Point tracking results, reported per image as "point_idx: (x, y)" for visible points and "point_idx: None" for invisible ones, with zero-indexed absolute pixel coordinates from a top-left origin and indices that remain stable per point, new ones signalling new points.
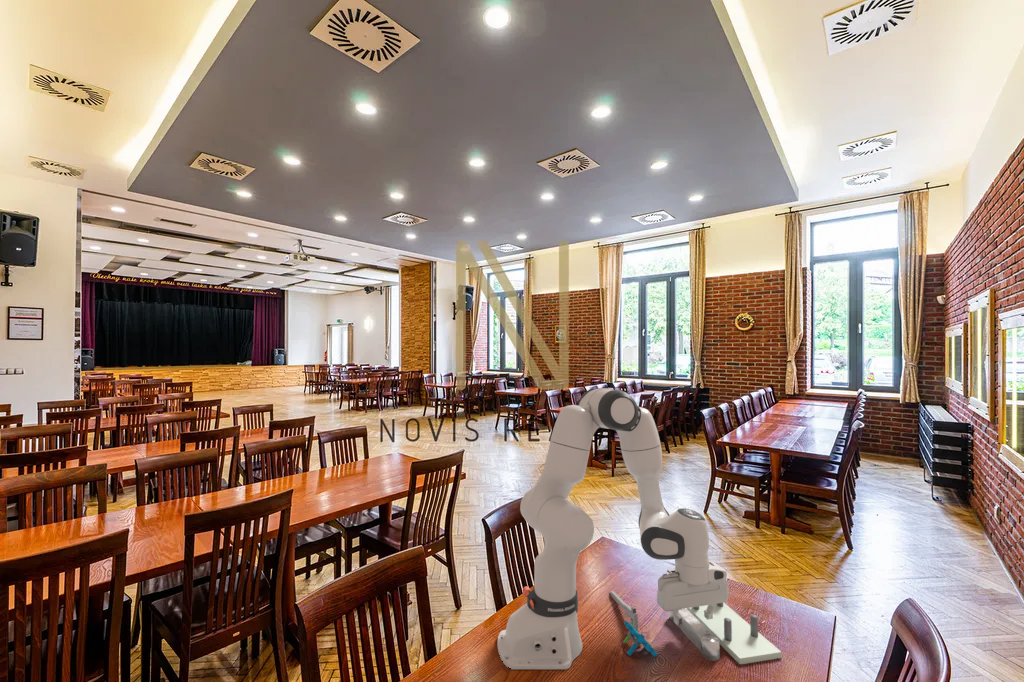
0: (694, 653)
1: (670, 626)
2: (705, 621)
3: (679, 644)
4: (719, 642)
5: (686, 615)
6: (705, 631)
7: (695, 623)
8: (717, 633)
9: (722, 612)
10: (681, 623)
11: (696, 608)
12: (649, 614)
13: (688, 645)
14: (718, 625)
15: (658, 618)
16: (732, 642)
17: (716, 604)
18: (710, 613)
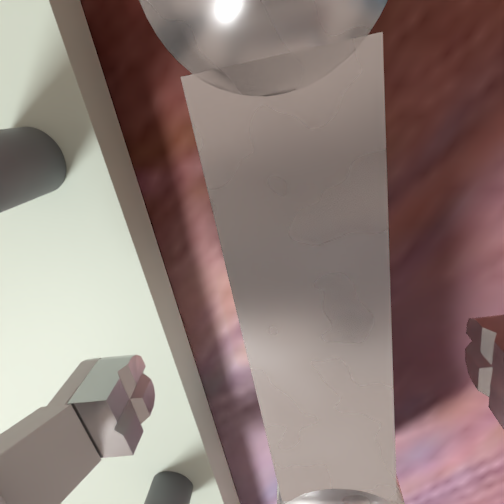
0: (427, 29)
1: (425, 369)
2: (157, 373)
3: (494, 169)
4: (127, 167)
5: (334, 423)
6: (251, 152)
7: (304, 308)
8: (108, 238)
9: None
10: (487, 318)
11: (173, 481)
12: (498, 476)
13: (416, 153)
14: (72, 327)
15: (461, 441)
16: (3, 106)
17: None
18: (73, 405)
